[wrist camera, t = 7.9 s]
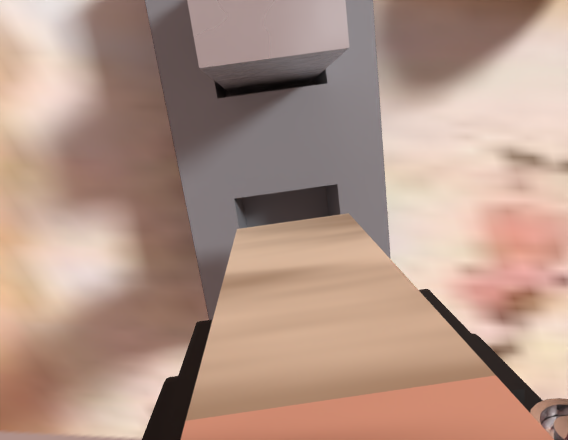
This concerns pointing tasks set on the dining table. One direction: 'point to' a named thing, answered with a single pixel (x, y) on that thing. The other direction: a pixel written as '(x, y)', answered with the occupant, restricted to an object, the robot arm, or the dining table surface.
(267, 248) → the birch plug
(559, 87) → the dining table surface
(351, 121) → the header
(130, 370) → the dining table surface
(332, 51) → the metal plug
